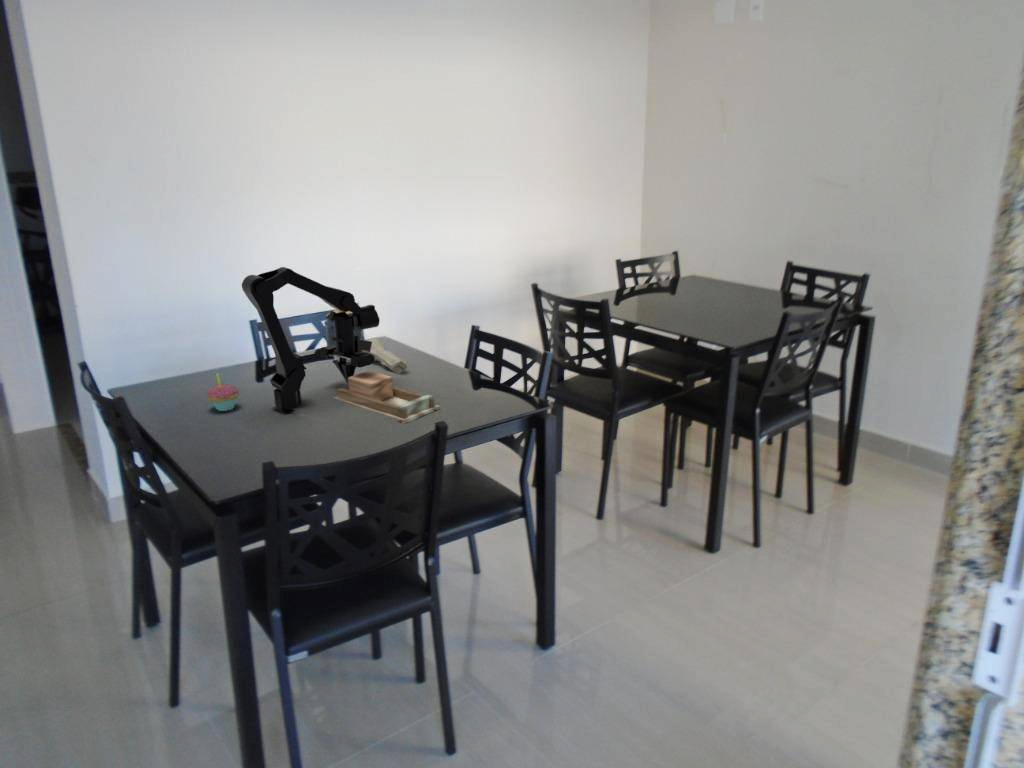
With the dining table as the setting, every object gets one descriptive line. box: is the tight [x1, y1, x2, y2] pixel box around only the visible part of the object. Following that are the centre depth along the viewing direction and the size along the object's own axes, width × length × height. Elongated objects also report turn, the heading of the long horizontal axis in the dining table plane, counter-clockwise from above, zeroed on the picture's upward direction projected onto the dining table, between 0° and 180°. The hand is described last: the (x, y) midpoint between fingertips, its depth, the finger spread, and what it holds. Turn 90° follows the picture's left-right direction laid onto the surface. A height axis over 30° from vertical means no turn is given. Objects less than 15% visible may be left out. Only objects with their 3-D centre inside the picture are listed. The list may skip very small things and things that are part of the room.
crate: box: [347, 370, 394, 401], centre depth 217 cm, size 8×10×6 cm
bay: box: [333, 385, 441, 425], centre depth 214 cm, size 14×30×4 cm, turn 51°
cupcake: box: [207, 372, 240, 412], centre depth 211 cm, size 9×8×12 cm
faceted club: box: [362, 337, 408, 375], centre depth 248 cm, size 9×8×25 cm
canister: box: [323, 309, 364, 359], centre depth 262 cm, size 13×13×18 cm
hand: (349, 383), depth 223 cm, fingers closed
